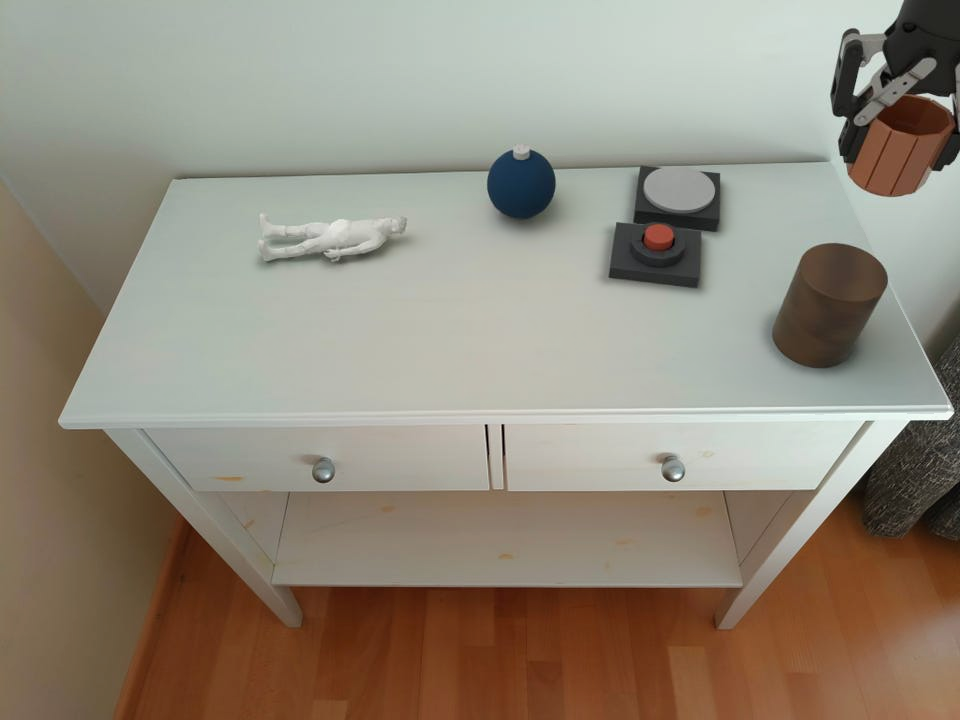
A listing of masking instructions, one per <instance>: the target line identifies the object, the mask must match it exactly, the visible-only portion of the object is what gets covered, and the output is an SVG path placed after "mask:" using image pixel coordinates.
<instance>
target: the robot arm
mask: <svg viewBox="0 0 960 720" xmlns="http://www.w3.org/2000/svg"><path fill="white" fill-rule="evenodd" d="M838 49H839V50H838V54H837V59H836V65H835V69H834V74H833V79H832V84H831V87H830V93H829V97H830V104H831V105H830V106H831V110H832V114H833V116H834V117H837V118H842V117H844V118H846V119H845V122H844V124H843V126H842V129H841V132H840V134H839V137H838V140H837V145H838V152H839V157H842V159H843V161H842V162H843V163H844V164H846V163H850V164H854V162H855V160H856V158H857V155H858V153H859V151H860V148H861V146H862V144H863V141H864V139H865V137H866V134H867V132H868V130H869V124H868V123H869V122H870V121H871V120H872V119H873V118H874V117H875V116H876V115H878V114H879V113H880V112H881V111H882V110H883V109H884V108H885V107H890V106H892V105H893V104H894V103H895V102H896V101H897V100H899V99H900V98H901V97H902V96H903V95H904V94H906V95H907V94H910V95H918V96H919V95H925V94H926V95H927V94H928V95H929V94H930V95H932V96H935V97H940V98H950V97H951V103H952V114H953V118H954V121H955V124H956V125H955V128H954V130H953V132H952V134H951V136H950V137H949V139H948V141H947V143H946V145H945V147H944V149H943V151H942V153H941V154H940V156H939V158H938V160H937V162H936V164H935V166H934V168H933V170H932V171H931V172H942V171H943V169H944V168H945V166H950V165H951V164H953V163H954V162H955V160H957V157H958V156H959V154H960V0H903V1H902V4H901V7H900V10H899V11H898V15H897V17H896V19H895V20H894V21H893V22H892V23H891V25H889V26H888V27H887V28H886V30H884V32H882V33H868V34H867V33H866V34H861V32H860V30H859V29H858V28H855V27H852V28H848V29H846V30H845V31H844V32H843V34H842V35H841V41H840V46H839V48H838ZM881 52H882V54H883V56H884V57H883V58H884V60H885V63H884V64H883V65H882V66H881V67H880V68H878V70H876V72H875V73H874V74H873V75H872V77H871V78H870V81H869V82H868V84H866V86H865V87H864V88H863V89H862V90H860V92H859V93H858V94H856V95H855V94H854V92H855V88H856V85H857V79H858V76H859V71H860V68H865V67H866V66H867V65H868V64H869V63H870V62H871V60H872V58H873V57H874V56H875V55H876V54H878V53H881Z"/></svg>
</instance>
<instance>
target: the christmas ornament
mask: <svg viewBox="0 0 960 720" xmlns="http://www.w3.org/2000/svg"><path fill="white" fill-rule="evenodd" d="M556 187H557V179H556V173H555V171H554V169H553V166H552V164H551V163H550V162H549V160H548V159H547V158H546V157H545V156H544V155H543V154H541V153H540V152H538V151H535V150H533V149H531V147H530V146H529V145H527V144H525V143H518V144H516V145H514V146H513V148H512V149H511V150H507V151H506V152H504V153H502V154H501V155H499V157H498V158H497V159H495V161H494V162H493V163H492V165H491V167H490V169H489V170H488V175H487V179H486V190H487V194H488V197H489V200H490V202H491V203H492V205H493V206H494V208H495V209H496V210H497V211H498V212H500V213H501V214H502V215H504V216H506V217H508V218H511V219H515V220H527V219H531V218H534V217H536V216H538V215H539V214H541V213H542V212H544V211H545V210H546V209H547V208H548V207H549V205H550V204H551V203H552V201H553V198H554V197H555V193H556Z"/></svg>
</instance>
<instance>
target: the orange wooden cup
mask: <svg viewBox="0 0 960 720" xmlns="http://www.w3.org/2000/svg"><path fill="white" fill-rule="evenodd" d="M868 124H869V130H868V132H867V134H866V137H865V139H864V141H863V144H862V146H861V148H860V151H859V153H858V155H857V158H856V160H855V162H854V164H850V163H845V165H846V166H845V167H846V172H847V173H846V174H847V176H848V177H849V178H850V180H851V181H852V182H853V183H854V184H855V185H856V186H857V187H858V188H860V189H861V190H863V191H865V192H867V193H869V194H872V195H875V196H879V197H885V198H898V197H903V196H906V195H913V194H915V193H916V192H917V191H919V190H920V189H921V188H922V187H923V186H924V185H926V183H927V181H928V180H929V177H930V175H931V173H932V172H933V171H932V170H933V168H934V166H935V164H936V162H937V160H938V158H939V156H940V154H941V153H942V151H943V149H944V147H945V145H946V143H947V141H948V139H949V137H950V136H951V134H952V132H953V130H954V128H955V125H956V124H955V121H954V118H953V111H951V109H949V108H947V107H946V106H944V105H943V104H941V103H940V102H938V101H937V100H935V99H931V97H927V96H922V95H919V94H918V95H910V94H904V95H903V96H902V97H901V98H900V99H899V100H897V101H896V102H895V103H894V104H893V105H892V106H890V107H885V108H884V109H883V110H882V111H881V112H880V113H879V114H878V115H876V116H875V117H874V118H873V119H872V120H871V121H870V122H869V123H868Z"/></svg>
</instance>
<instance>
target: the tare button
mask: <svg viewBox="0 0 960 720" xmlns="http://www.w3.org/2000/svg"><path fill="white" fill-rule="evenodd" d="M673 237H674V233H673V231H672V230H671V229H670V228H669V227H667V226H665V225H660V224H656V225H652V226H650V227H648V228H647V229H646V231H645V237H644V244H645V245H646V247H647V248H649V249H651V250H653V251H665V250H668V249H669V248H670V247H671V246H672V242H673Z"/></svg>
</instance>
